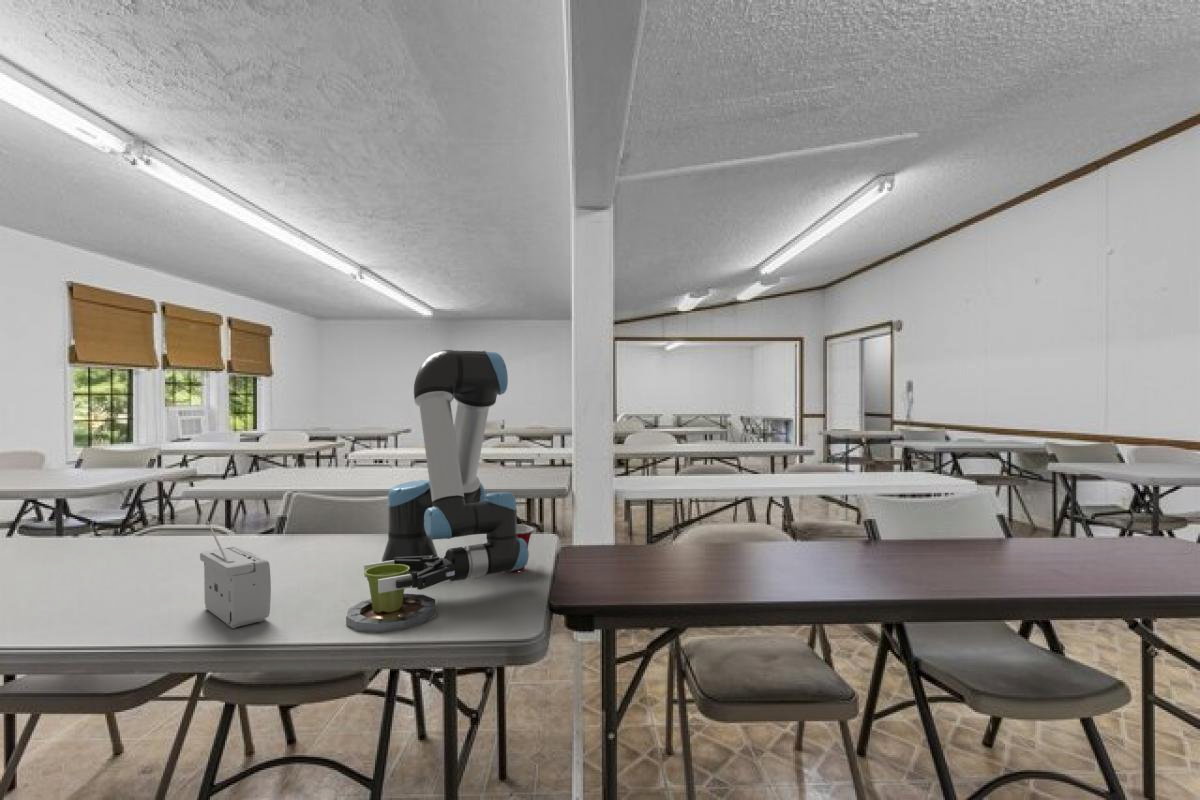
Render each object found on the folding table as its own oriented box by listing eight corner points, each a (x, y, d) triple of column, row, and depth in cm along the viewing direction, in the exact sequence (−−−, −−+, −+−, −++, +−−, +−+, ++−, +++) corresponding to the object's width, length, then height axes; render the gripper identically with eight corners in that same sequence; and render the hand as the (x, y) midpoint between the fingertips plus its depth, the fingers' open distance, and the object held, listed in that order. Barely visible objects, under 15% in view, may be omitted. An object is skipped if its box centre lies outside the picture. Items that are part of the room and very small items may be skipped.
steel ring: (351, 607, 132) (350, 599, 133) (433, 597, 138) (433, 590, 138) (343, 637, 115) (343, 628, 115) (438, 625, 121) (438, 616, 121)
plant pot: (395, 599, 136) (394, 561, 136) (418, 607, 130) (418, 567, 130) (356, 610, 129) (356, 570, 129) (379, 619, 123) (378, 577, 123)
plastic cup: (533, 575, 156) (533, 530, 156) (492, 576, 154) (492, 531, 154) (534, 564, 166) (533, 521, 166) (495, 565, 165) (495, 523, 165)
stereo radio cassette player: (272, 621, 125) (271, 527, 125) (228, 632, 119) (227, 534, 119) (239, 600, 139) (239, 515, 139) (198, 609, 133) (198, 521, 133)
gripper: (485, 592, 128) (385, 612, 117) (447, 566, 149) (359, 581, 138) (485, 558, 128) (385, 574, 117) (447, 537, 149) (359, 549, 138)
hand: (371, 578), depth 127 cm, fingers open, 13 cm apart
